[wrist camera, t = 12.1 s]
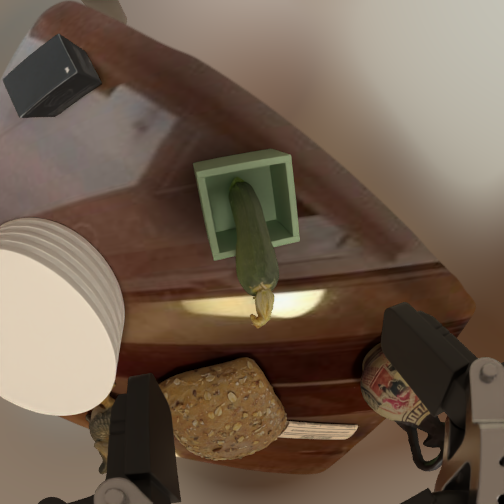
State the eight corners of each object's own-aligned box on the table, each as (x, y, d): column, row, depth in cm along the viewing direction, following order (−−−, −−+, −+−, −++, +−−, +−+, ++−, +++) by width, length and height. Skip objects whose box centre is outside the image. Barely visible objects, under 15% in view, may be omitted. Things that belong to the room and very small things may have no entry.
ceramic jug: (385, 317, 59) (479, 421, 32) (416, 341, 65) (493, 427, 38) (329, 376, 62) (396, 490, 35) (366, 392, 68) (428, 484, 41)
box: (85, 51, 30) (58, 31, 20) (103, 83, 32) (79, 72, 23) (38, 85, 30) (0, 79, 20) (54, 118, 32) (18, 119, 23)
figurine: (162, 397, 54) (166, 462, 41) (136, 433, 57) (137, 490, 44) (92, 371, 49) (80, 438, 35) (75, 412, 52) (66, 470, 38)
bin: (192, 163, 39) (195, 171, 33) (271, 148, 41) (291, 154, 34) (207, 238, 44) (214, 260, 37) (280, 221, 45) (299, 241, 39)
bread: (286, 410, 63) (304, 452, 53) (197, 440, 62) (205, 483, 51) (253, 336, 52) (272, 386, 42) (141, 376, 51) (140, 429, 40)
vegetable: (261, 179, 41) (302, 319, 29) (243, 201, 44) (274, 338, 32) (233, 167, 39) (265, 315, 27) (215, 191, 41) (238, 335, 29)
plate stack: (-27, 327, 39) (-52, 366, 29) (-10, 187, 33) (-53, 210, 23) (100, 387, 50) (93, 435, 40) (152, 265, 44) (147, 310, 33)
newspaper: (356, 423, 74) (359, 428, 72) (341, 438, 76) (343, 443, 74) (288, 418, 65) (290, 424, 63) (272, 435, 67) (274, 441, 65)
